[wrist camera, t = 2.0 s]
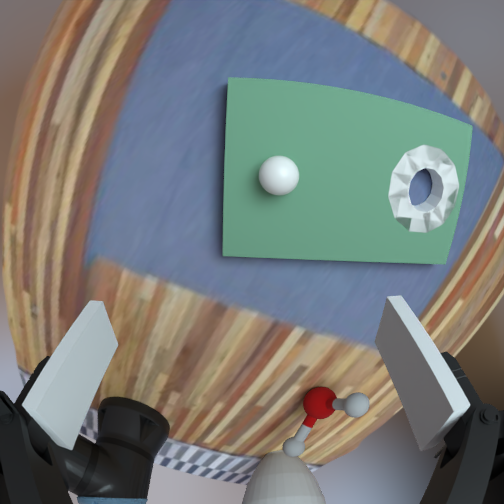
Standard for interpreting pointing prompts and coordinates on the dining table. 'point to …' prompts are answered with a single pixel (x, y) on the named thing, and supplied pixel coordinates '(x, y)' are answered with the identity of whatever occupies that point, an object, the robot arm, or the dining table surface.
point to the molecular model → (323, 414)
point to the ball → (279, 175)
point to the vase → (282, 482)
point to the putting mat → (339, 174)
